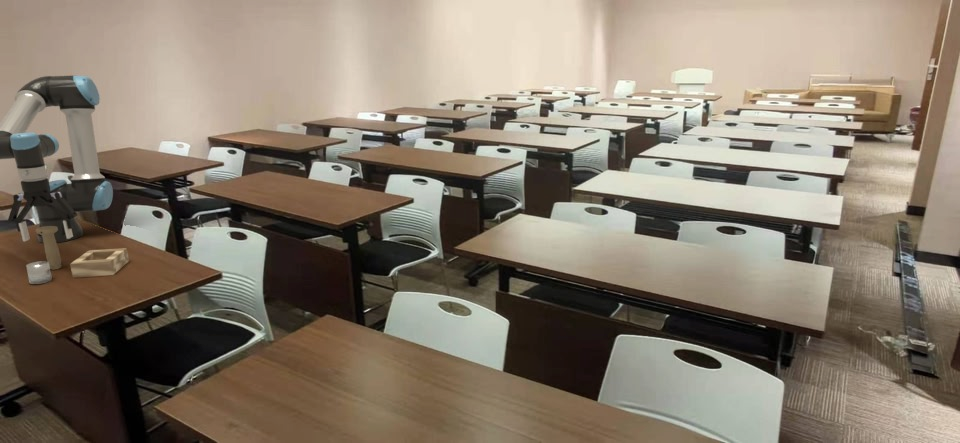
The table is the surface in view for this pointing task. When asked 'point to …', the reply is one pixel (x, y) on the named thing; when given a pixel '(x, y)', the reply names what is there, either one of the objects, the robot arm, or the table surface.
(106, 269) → the socket block
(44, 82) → the robot arm
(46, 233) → the handle
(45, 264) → the round plug
